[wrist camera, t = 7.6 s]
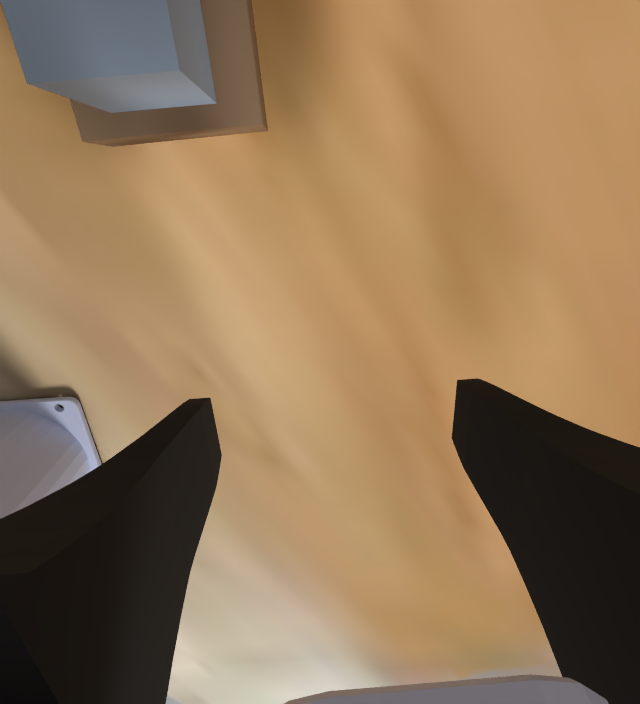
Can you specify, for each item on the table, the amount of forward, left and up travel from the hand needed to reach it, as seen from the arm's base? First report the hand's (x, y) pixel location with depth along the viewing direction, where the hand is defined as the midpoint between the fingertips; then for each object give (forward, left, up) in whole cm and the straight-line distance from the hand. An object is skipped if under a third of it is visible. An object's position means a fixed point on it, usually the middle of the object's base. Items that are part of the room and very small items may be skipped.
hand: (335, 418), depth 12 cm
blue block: (-6, +11, -8) cm, 15 cm away
